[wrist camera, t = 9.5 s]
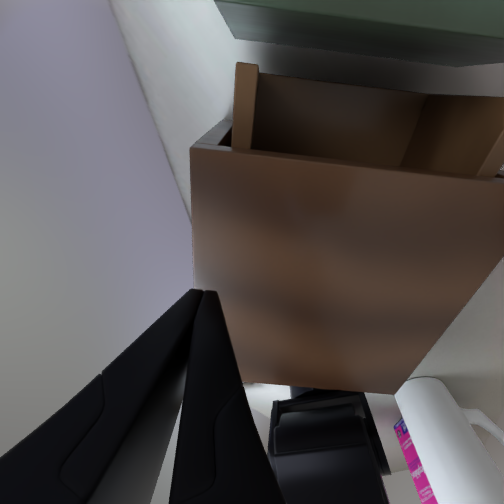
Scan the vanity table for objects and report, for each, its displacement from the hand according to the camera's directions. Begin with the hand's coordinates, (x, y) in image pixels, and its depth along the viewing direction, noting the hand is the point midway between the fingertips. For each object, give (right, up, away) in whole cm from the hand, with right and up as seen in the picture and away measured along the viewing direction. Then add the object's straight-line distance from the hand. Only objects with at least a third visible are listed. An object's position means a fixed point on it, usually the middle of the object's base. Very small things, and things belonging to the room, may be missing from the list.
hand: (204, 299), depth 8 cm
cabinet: (+6, +4, +13) cm, 15 cm away
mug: (+25, -16, +26) cm, 40 cm away
